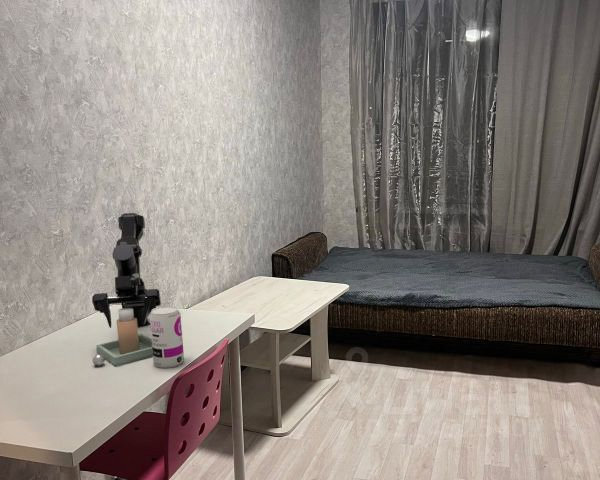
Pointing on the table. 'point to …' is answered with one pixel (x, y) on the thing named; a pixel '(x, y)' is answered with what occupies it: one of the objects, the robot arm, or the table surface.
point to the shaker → (127, 331)
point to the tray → (116, 359)
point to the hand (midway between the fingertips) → (126, 325)
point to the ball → (98, 360)
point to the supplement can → (166, 337)
